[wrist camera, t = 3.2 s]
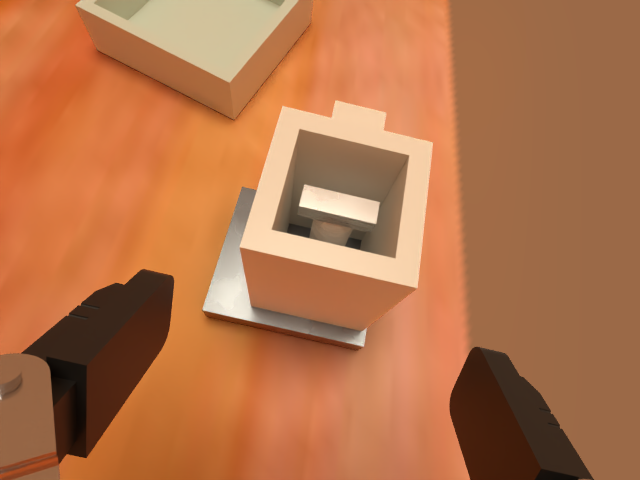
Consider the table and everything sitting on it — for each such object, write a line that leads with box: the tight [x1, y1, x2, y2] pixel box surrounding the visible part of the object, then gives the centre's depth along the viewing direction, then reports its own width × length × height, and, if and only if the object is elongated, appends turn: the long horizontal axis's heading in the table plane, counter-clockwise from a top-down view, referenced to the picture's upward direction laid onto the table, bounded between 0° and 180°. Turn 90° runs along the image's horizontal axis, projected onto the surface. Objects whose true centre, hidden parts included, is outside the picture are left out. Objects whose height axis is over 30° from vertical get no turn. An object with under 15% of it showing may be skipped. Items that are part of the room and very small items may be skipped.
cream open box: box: [240, 100, 433, 331], centre depth 17 cm, size 6×7×8 cm
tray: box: [75, 0, 313, 120], centre depth 26 cm, size 10×10×3 cm
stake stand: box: [202, 184, 380, 350], centre depth 18 cm, size 8×7×8 cm
